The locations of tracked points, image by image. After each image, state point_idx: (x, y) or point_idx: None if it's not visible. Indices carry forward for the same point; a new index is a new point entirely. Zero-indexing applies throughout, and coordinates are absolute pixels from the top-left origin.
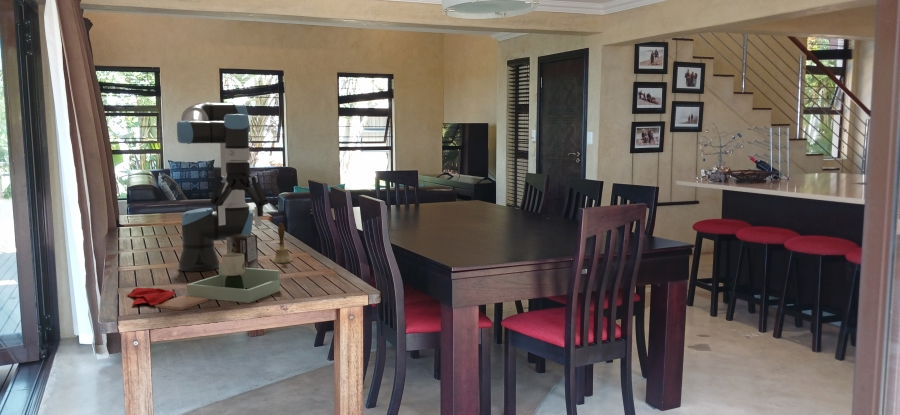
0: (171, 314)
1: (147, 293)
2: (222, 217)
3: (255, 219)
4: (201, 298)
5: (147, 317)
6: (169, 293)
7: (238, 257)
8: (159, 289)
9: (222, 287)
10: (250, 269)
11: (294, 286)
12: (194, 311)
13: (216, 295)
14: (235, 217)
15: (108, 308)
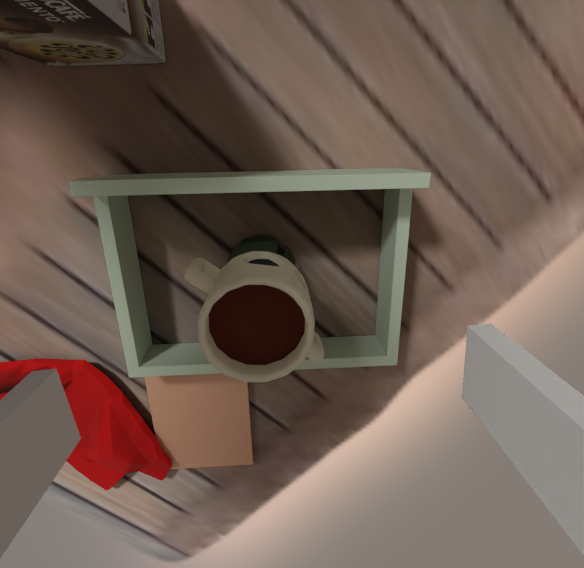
0: (262, 490)
1: None
2: (20, 476)
3: (514, 450)
4: (231, 381)
5: (230, 523)
6: (103, 395)
7: (309, 347)
8: None
9: None
10: (270, 191)
11: (415, 69)
12: (296, 455)
13: None
14: None
15: (64, 509)
